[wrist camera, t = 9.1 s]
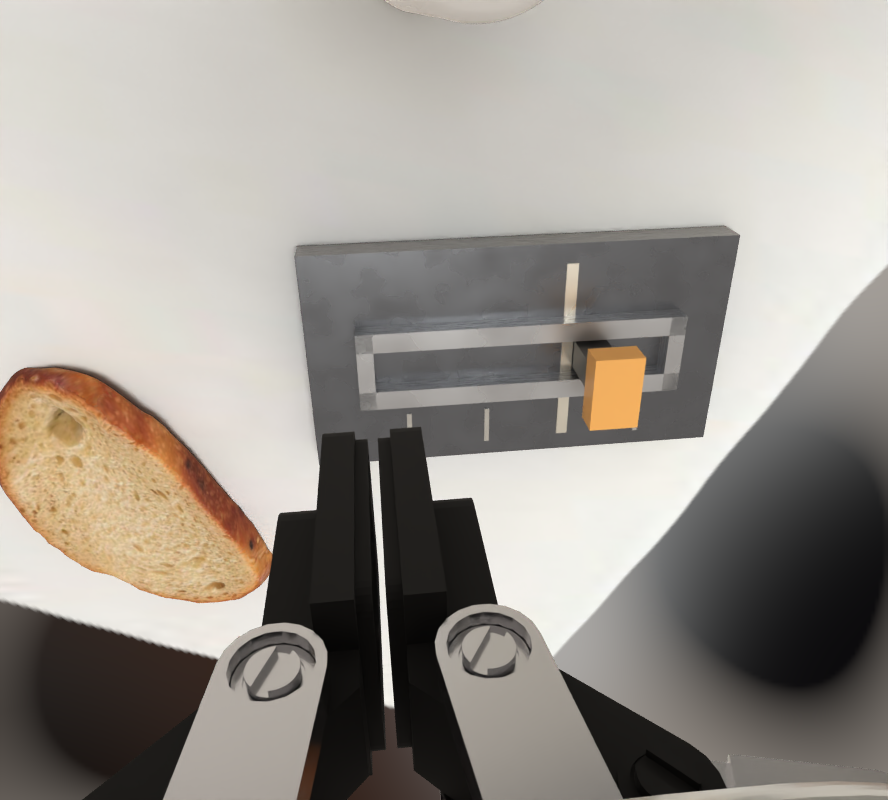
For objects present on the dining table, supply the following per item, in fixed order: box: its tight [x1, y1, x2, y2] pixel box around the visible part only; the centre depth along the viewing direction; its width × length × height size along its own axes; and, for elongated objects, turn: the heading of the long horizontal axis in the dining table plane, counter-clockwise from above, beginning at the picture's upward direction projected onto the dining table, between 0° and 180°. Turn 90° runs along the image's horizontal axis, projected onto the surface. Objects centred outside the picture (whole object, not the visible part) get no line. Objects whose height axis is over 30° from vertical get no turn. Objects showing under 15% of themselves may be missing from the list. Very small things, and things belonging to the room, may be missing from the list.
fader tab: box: [572, 340, 646, 431], centre depth 43 cm, size 3×4×6 cm, turn 1°
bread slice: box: [0, 368, 272, 603], centre depth 48 cm, size 18×18×4 cm
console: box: [295, 226, 740, 465], centre depth 46 cm, size 26×14×3 cm, turn 91°
